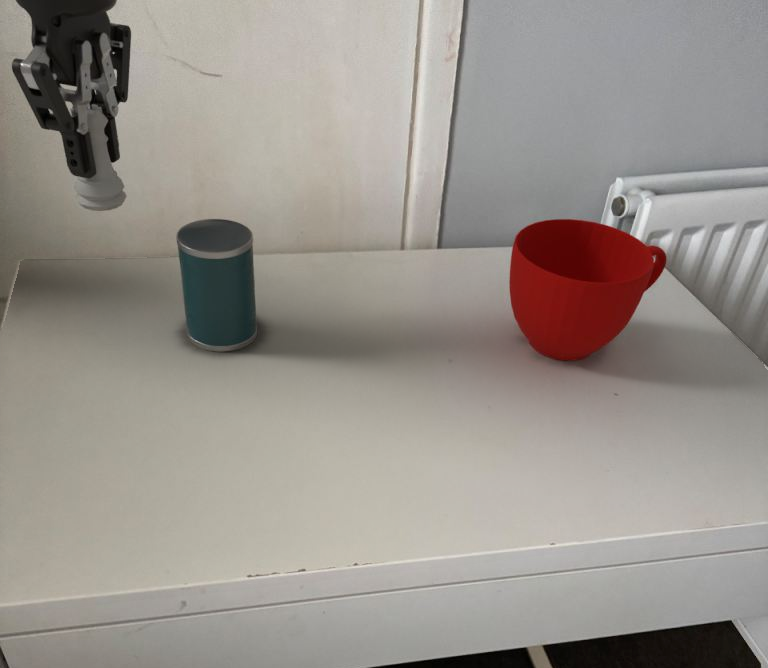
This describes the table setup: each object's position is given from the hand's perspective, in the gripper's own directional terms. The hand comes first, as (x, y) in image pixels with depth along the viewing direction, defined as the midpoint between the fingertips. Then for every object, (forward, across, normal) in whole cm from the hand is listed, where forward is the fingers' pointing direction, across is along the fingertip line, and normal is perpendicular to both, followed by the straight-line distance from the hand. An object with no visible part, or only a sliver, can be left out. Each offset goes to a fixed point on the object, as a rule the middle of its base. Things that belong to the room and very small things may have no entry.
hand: (95, 166), depth 73 cm
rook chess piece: (+3, 0, 0) cm, 3 cm away
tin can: (+14, 0, +11) cm, 18 cm away
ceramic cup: (+14, -13, +44) cm, 48 cm away
